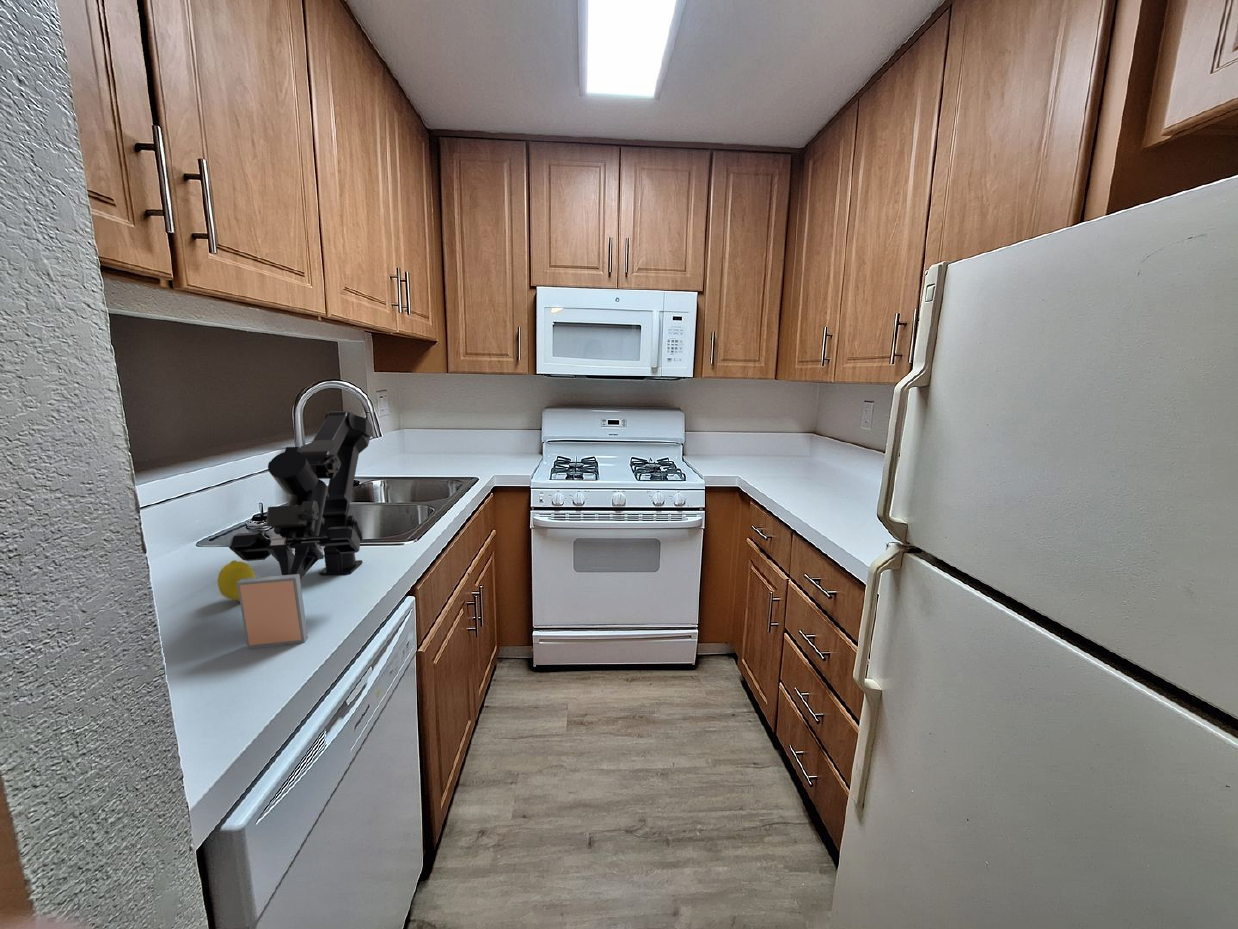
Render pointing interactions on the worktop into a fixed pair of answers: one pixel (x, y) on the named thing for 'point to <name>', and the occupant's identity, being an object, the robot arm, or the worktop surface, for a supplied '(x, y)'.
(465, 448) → the worktop surface
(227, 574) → the lemon
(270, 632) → the tile
